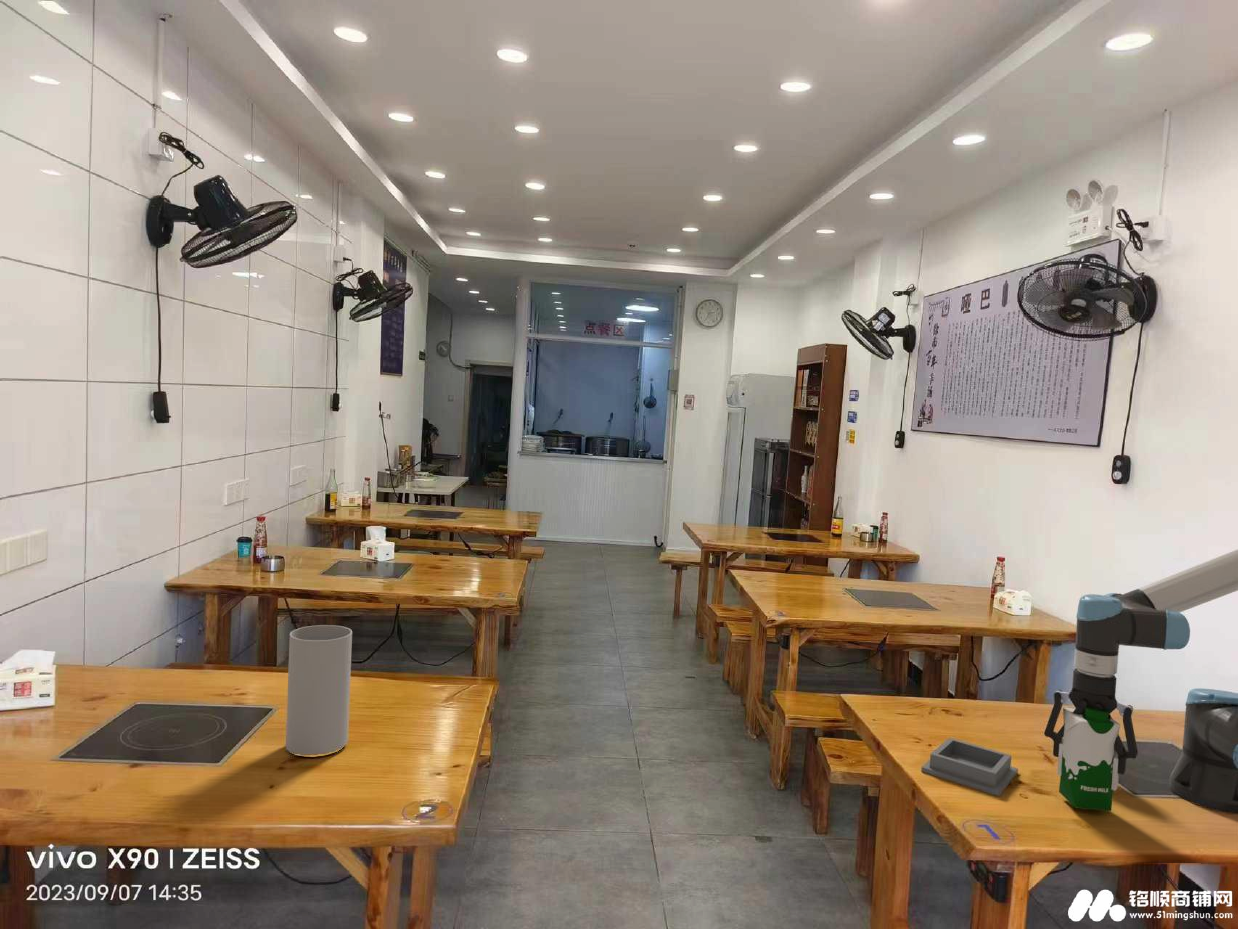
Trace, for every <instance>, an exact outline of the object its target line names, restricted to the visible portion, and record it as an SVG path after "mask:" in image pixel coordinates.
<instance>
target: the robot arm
mask: <svg viewBox="0 0 1238 929" xmlns="http://www.w3.org/2000/svg"><path fill="white" fill-rule="evenodd" d="M1237 591H1238V548H1237V549H1235V550H1232V551H1230V552H1228V553H1225V554H1222V555H1220V556H1217V557H1215V558H1213V559H1211V560H1208V561H1204V562H1203V563H1200V564H1197V565H1195V566H1192V567H1189V568H1187V569H1185V570H1181V571H1180V572H1177V573H1175V574H1171V575H1170V576H1168V577H1164V578H1161V579H1160V580H1157V581H1155V582H1152V583H1149V584H1147V585H1144V586H1141V587H1138V588H1136V589H1133V590H1131V591H1129V592H1128V591H1127V592H1126V593H1115V592H1114V593H1113V592H1111V593H1106V594H1104V595H1102V594H1091V593H1090V594H1084V595H1082V596H1081V597H1080V598H1079V599H1078V601H1079V602H1078V604H1077V605H1078V606H1077V612H1076V616H1075V617H1076V630H1075V631H1076V633H1075V645H1074V646H1075V647H1074V655H1073V656H1074V659H1073V666H1074V668H1075V669H1074V670H1073V672H1072V687H1071V691H1070V692H1067V691H1062V690H1061V689H1057V690H1056V691H1055V692H1054V694H1053V700H1054V704H1053V707H1052V709H1051V712H1050V715H1049V717H1048V721H1047V724H1046V728H1045V730H1044V736H1045V737H1046V738H1050V739H1052V741H1053V751H1052V755H1053V757H1055V758H1057V759H1058V760H1057V761H1058V762H1057V772H1056V773H1057V775H1058V776H1061V768H1062V754H1063V736H1064V726H1065V724H1064V723H1063V725H1062V726H1061V728H1060V729H1059V730H1058V731H1057V732H1056V731H1055V728H1056V724H1057V722H1058V719H1059V717H1060V712H1061V710H1062V709H1063V708H1062V707H1063V704H1065V703H1066V702H1067V700H1068V699H1069V700H1070V702H1071V703H1072V704H1073V706H1074V709H1075V710H1074V711H1073V714H1077V715H1080V714H1082V715H1085V708H1086V706H1088V707H1091V708H1096V710H1099V711H1109V716H1108V722H1109V721H1110V720H1111V718H1112V719H1113V717H1112V716H1111V713H1112V712H1114V711H1115V710H1117V711H1118V713H1119V715H1120V717H1122V724H1123V725H1122V726H1123V730H1124V736H1125V739H1126V740H1125V741H1126V745H1127V749H1126V747H1125V746H1124V743H1123V741H1122V738H1121V737H1120V734H1119V733H1118V737H1116V739H1115V743H1114V748H1115V750H1116V754H1115V756H1114V760H1113V774H1112V788H1111V790H1113V791H1115V792H1116V791H1117V789H1118V787H1119V774H1120V775H1125V773H1126V770H1127V769H1126V768H1127V759H1136V758H1137V756H1138V754H1139V752H1138V747H1137V740H1136V735H1135V730H1134V725H1133V720H1132V715H1133V711H1134V708H1133V706H1132V705H1131V704H1127V705H1124V704H1122V703H1119V702H1118V701H1117V699H1116V691H1117V690H1116V689H1117V676H1116V675H1117V674H1118V663H1119V650H1120V646H1126V647H1127V646H1128V647H1138V648H1150V649H1158V650H1159V649H1160V650H1161V649H1162V650H1163V651H1166V650H1181V649H1184V648H1185V647H1187V645H1188V644H1189V641H1190V636H1191V627H1190V623H1189V621H1188V618H1187V617H1186V616H1185V615H1184V614H1183V613H1182V612H1185V611H1186V610H1187V611H1188V610H1190V609H1193V608H1195V607H1198V606H1201V605H1203V604H1205V603H1209V602H1211V601H1213V600H1217V599H1219V598H1222V597H1224V596H1226V595H1230V594H1233V593H1235V592H1237ZM1184 713H1185V715H1184V727H1183V728H1184V729H1183V739H1182V750H1181V755H1180V757H1179V759H1178V760H1177V761H1176V764H1175V765H1174V768H1173V770H1172V771H1171V773H1170V774H1169V780H1168V787H1169V789H1170V790H1171V791H1172V792H1173V793H1175V794H1176V795H1177V796H1179V797H1180V798H1182V799H1184V800H1186V801H1189V802H1191V803H1193V804H1196V805H1199V806H1200V807H1201V806H1202V807H1205V808H1208V809H1212V810H1215V811H1219V812H1222V813H1223V812H1224V813H1228V814H1229V813H1230V814H1235V815H1236V814H1237V815H1238V692H1232V691H1226V690H1220V689H1212V688H1201V687H1200V688H1199V687H1198V688H1193V689H1191V690H1189V691H1188V693H1187V698H1186V702H1185V712H1184Z"/></svg>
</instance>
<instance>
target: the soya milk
mask: <svg viewBox="0 0 1238 929" xmlns="http://www.w3.org/2000/svg"><path fill="white" fill-rule="evenodd" d="M1075 709H1076V708H1072V707H1071V708H1070V707H1063V708H1062V710H1063V711H1062V712H1063V713H1062V715H1063V725H1064V724H1065V726H1064V736H1063V738H1062V740H1063V754H1062V768H1061V775H1059V777H1060V778H1059V787H1058V788H1059V789H1058V792H1059V793H1060V794H1061V795H1062V797H1064V798H1065V800H1067V802H1068V803H1070V804H1071V805H1072V807H1074V808H1075V809H1083V810H1086V809H1087V810H1098V811H1108V812H1112V808H1113V806H1112V805H1113V794H1114V790H1111V788H1112V774H1113V760H1114V756H1115V754H1117V752H1116V750H1115V748H1114V743H1115V739H1116V737H1118V734H1119V733H1120V728H1121V723H1119V722H1118V721H1116V720H1115V719H1114V718H1113V717H1112V718H1111V720H1110V721H1109V722H1108V716H1109V711H1099V710H1096V708H1091V707H1088V706H1086V708H1085V715H1082V714H1080V715H1077V714H1073V711H1074V710H1075Z"/></svg>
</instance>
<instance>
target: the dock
mask: <svg viewBox="0 0 1238 929" xmlns="http://www.w3.org/2000/svg"><path fill="white" fill-rule="evenodd" d="M921 772H922V773H924V774H928V775H931V776H935V777H938V778H941V779H944V780H947V781H949V782H950V781H951V782H953V783H956V784H959V785H963V786H966V787H969V788H972V789H975V790H978V791H982V792H984V793H987V794H991V795H994V796H996V797H1000V796H1001V795H1002V794H1003V792H1004V791H1005V790H1006V788H1007V787H1008V786H1009V785H1010V783H1011V782H1012V781H1013V780H1014V778H1015V777H1016V775H1017V774H1018V773H1019V768H1017V767H1015V766H1012V754H1008V753H1004V752H1000V751H999V750H998V751H997V750H995V749H992V748H991V749H990V748H987V747H984V746H981V745H977V744H973V743H971V742H970V743H969V742H966V741H963V740H959V739H956V738H953V737H948V738H947V739H946V740H945V741H944V742H943V743H941V744H940V745H939V746H938V747H937V748H936V749H934V750H933V751H932V752H931V753H930V757H929V760H928V761H927V762H925V764H924V765H922V766H921Z"/></svg>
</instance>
